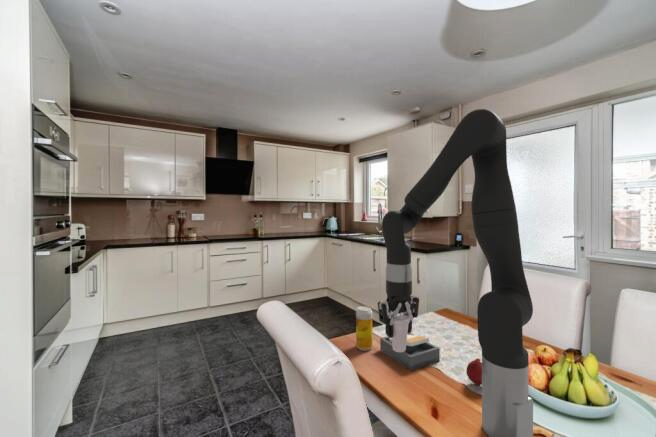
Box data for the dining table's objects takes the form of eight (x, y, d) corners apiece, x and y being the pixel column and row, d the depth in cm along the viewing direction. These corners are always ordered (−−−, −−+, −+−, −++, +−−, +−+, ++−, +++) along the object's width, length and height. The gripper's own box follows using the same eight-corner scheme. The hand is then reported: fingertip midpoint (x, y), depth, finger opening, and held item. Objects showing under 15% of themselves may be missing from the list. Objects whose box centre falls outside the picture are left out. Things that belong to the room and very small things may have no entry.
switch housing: (439, 361, 100) (439, 348, 99) (410, 370, 94) (410, 357, 94) (407, 342, 114) (407, 331, 114) (380, 350, 108) (380, 338, 108)
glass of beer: (353, 346, 112) (353, 307, 111) (366, 342, 114) (366, 305, 114) (361, 352, 106) (361, 312, 106) (375, 349, 109) (375, 309, 108)
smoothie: (411, 355, 83) (410, 306, 82) (388, 353, 84) (387, 305, 84) (409, 345, 89) (409, 300, 89) (388, 343, 90) (387, 298, 90)
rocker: (431, 343, 100) (430, 336, 101) (409, 349, 96) (408, 342, 96) (408, 339, 111) (407, 333, 111) (387, 344, 106) (386, 338, 107)
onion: (476, 392, 82) (476, 364, 82) (462, 381, 88) (462, 355, 87) (493, 389, 84) (493, 361, 83) (478, 378, 89) (477, 352, 89)
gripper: (387, 283, 79) (387, 344, 80) (426, 278, 86) (426, 334, 86) (371, 278, 86) (371, 334, 86) (408, 273, 92) (408, 325, 93)
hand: (399, 334), depth 86 cm, fingers closed on smoothie, 6 cm apart
